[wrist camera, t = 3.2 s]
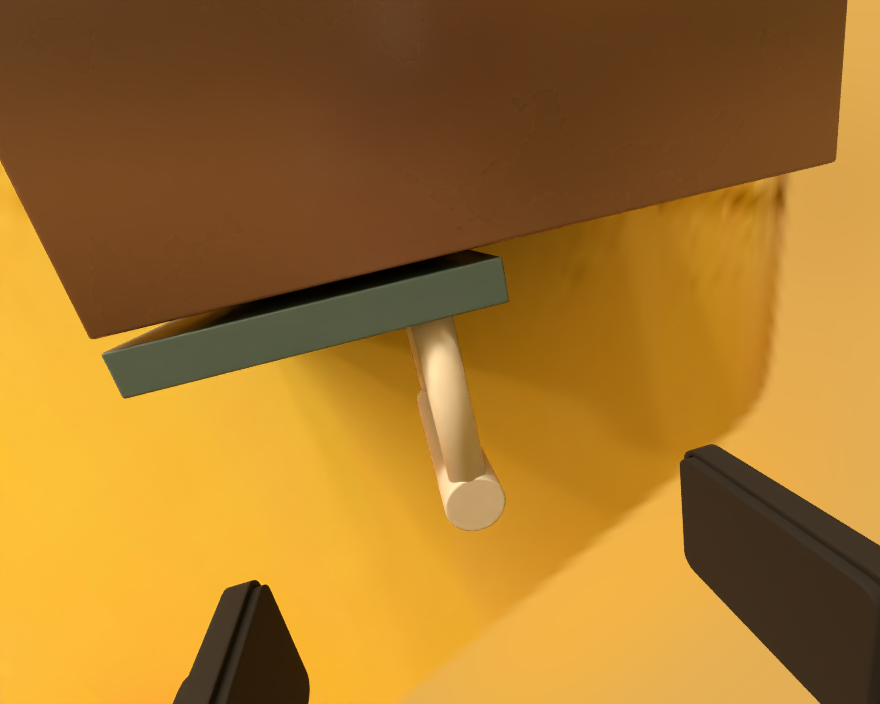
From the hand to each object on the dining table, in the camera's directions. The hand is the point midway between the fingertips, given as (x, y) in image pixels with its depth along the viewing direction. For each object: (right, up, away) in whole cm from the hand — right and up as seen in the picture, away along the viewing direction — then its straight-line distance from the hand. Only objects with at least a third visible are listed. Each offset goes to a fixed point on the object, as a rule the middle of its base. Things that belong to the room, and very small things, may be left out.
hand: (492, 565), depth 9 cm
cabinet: (-2, +13, +8) cm, 16 cm away
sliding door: (-5, +5, +9) cm, 12 cm away
